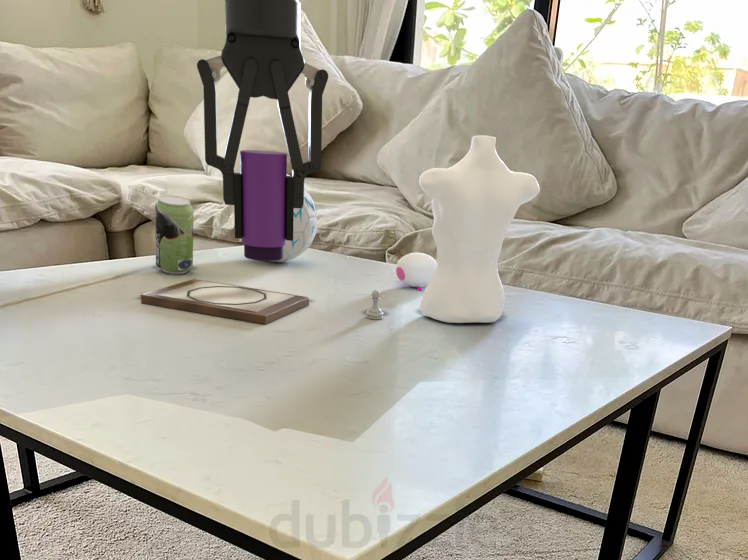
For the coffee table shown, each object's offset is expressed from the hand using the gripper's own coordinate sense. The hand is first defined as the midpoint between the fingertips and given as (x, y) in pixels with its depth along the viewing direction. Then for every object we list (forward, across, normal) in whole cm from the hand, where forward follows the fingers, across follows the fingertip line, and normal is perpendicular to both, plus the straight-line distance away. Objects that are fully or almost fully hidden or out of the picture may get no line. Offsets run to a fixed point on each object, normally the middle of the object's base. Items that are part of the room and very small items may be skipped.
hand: (263, 237), depth 88 cm
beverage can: (+14, -13, +46) cm, 49 cm away
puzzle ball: (+14, +4, +60) cm, 61 cm away
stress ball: (+14, +28, +42) cm, 52 cm away
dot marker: (+2, 0, 0) cm, 2 cm away
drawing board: (+13, -4, +24) cm, 28 cm away
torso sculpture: (+14, +30, +20) cm, 39 cm away
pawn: (+14, +17, +19) cm, 29 cm away
